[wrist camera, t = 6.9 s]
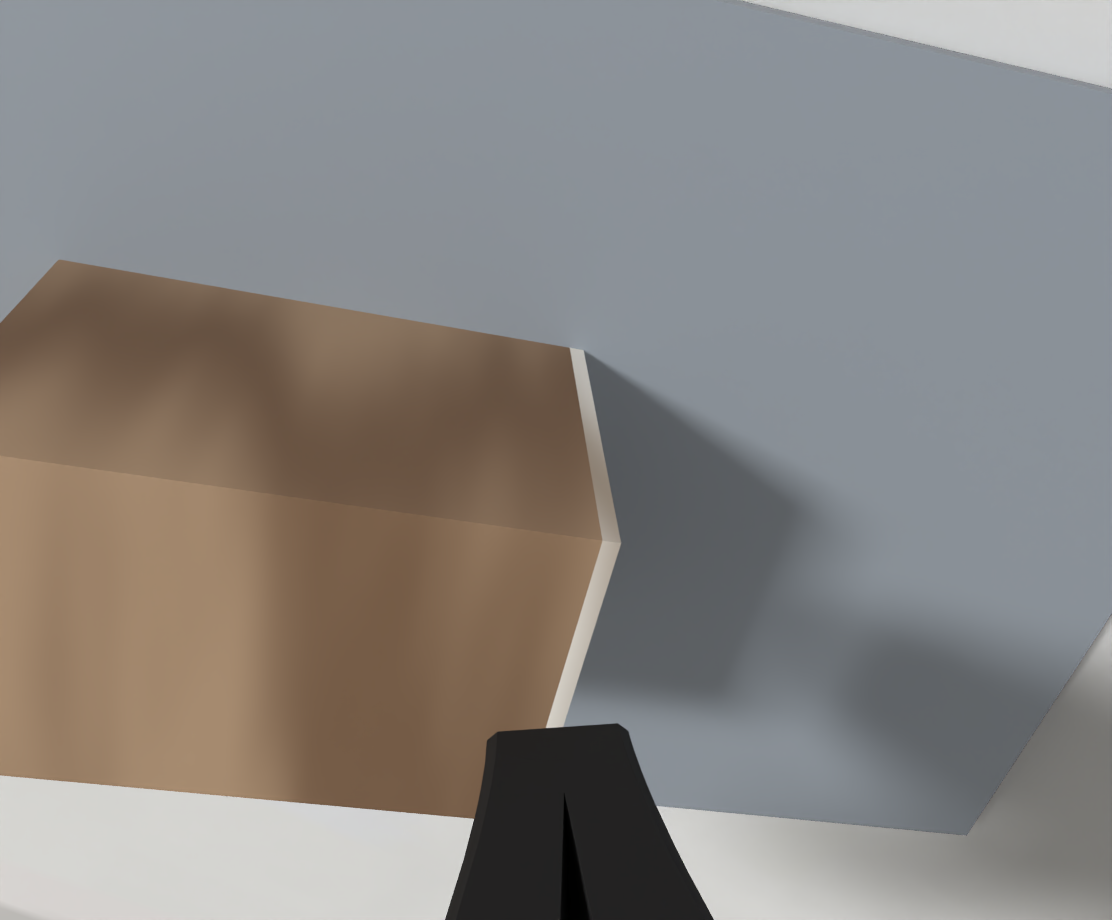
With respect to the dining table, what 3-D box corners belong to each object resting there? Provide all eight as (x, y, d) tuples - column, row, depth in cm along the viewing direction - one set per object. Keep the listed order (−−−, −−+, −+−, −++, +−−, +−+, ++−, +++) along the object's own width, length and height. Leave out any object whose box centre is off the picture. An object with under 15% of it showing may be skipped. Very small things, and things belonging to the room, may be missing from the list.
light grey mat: (1373, 151, 14) (1406, 163, 14) (955, 811, 21) (967, 835, 21) (-212, -226, 11) (-245, -227, 10) (-78, 707, 18) (-94, 734, 18)
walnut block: (625, 544, 11) (-108, 440, 10) (536, 824, 13) (-64, 769, 12) (587, 350, 14) (58, 259, 13) (522, 594, 17) (67, 535, 16)
